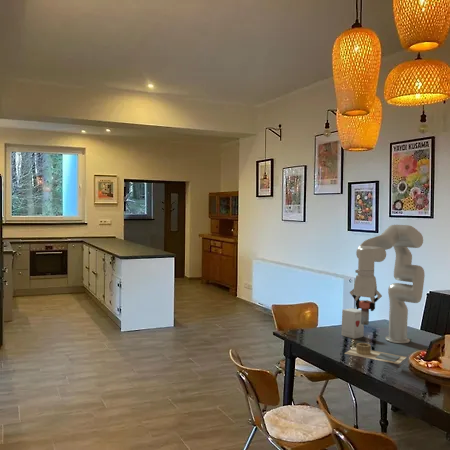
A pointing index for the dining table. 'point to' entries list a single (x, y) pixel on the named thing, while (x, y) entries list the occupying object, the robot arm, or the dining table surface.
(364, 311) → the peg
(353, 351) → the board
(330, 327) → the dining table surface
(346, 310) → the supplement box
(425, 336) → the dining table surface
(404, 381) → the dining table surface
